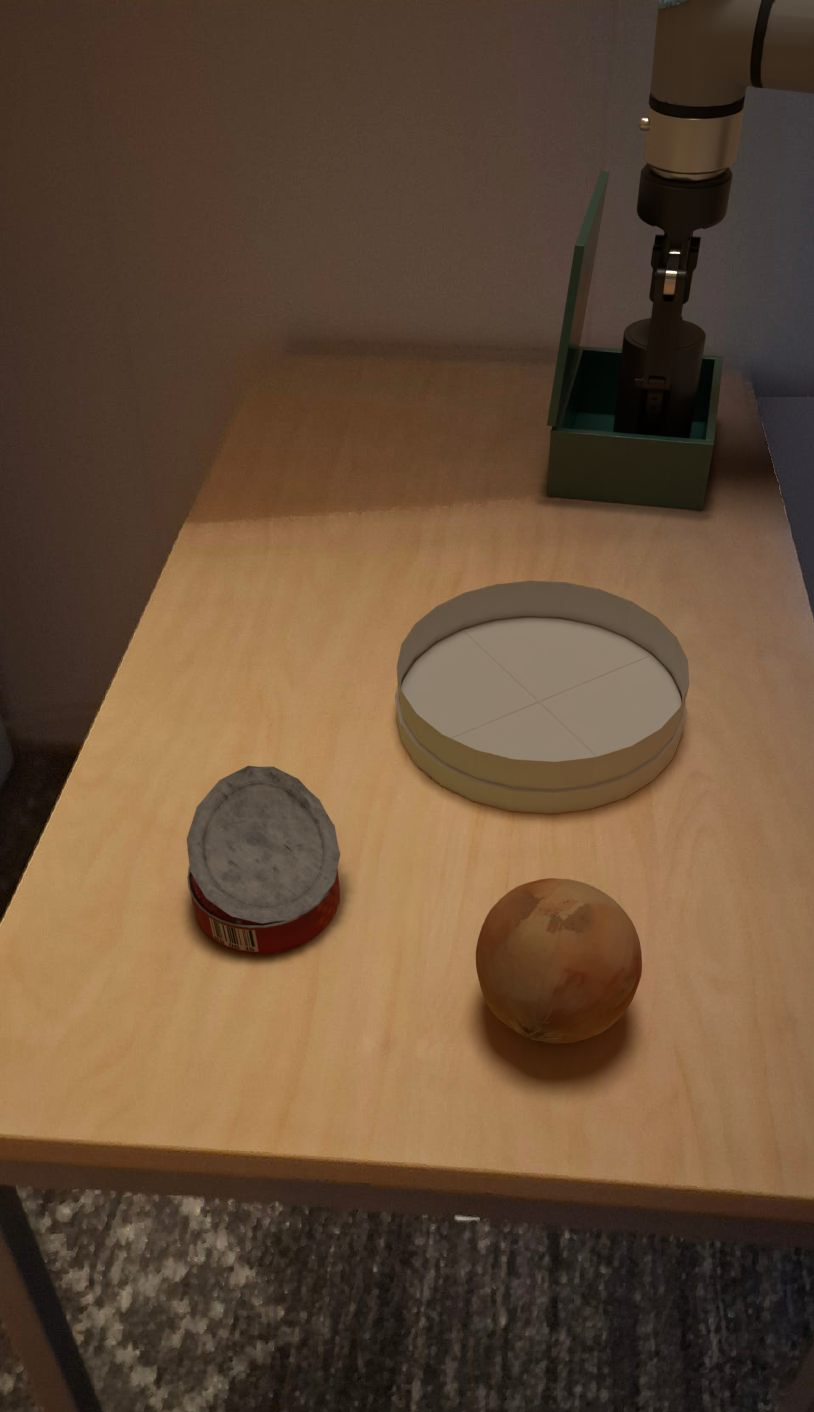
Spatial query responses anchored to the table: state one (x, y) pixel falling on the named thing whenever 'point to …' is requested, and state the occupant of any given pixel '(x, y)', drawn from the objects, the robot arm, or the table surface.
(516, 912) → the onion
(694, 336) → the gray cylinder
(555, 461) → the green box
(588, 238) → the lid
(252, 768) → the canned food
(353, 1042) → the table surface
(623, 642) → the dish
